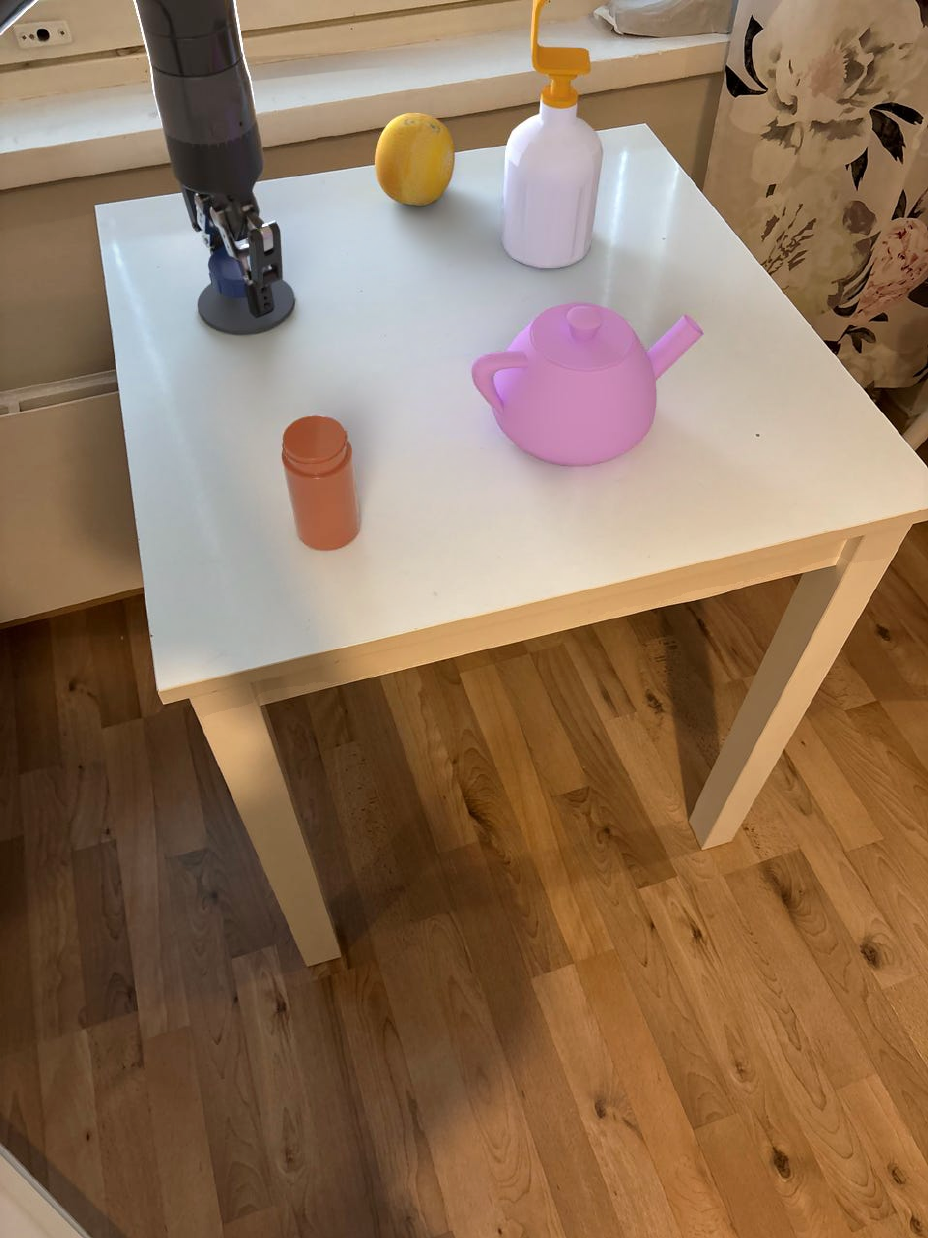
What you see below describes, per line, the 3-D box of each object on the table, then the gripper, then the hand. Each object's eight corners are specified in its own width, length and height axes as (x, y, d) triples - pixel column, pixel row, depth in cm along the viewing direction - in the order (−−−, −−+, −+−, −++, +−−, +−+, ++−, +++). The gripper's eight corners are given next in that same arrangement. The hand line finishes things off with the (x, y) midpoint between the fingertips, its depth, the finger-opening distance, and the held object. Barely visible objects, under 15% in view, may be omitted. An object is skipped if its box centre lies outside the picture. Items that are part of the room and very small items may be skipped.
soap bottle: (593, 271, 94) (633, -6, 73) (501, 269, 94) (516, -9, 73) (587, 219, 99) (624, -54, 79) (500, 217, 99) (514, -57, 79)
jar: (299, 555, 73) (281, 466, 65) (292, 507, 75) (274, 416, 68) (364, 545, 73) (354, 456, 65) (355, 498, 76) (344, 407, 68)
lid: (272, 258, 89) (269, 240, 88) (274, 295, 86) (271, 277, 85) (212, 263, 89) (207, 244, 87) (211, 300, 86) (207, 281, 84)
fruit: (453, 221, 98) (453, 145, 92) (375, 219, 98) (369, 143, 92) (455, 174, 103) (455, 99, 97) (381, 172, 103) (376, 97, 97)
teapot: (720, 445, 80) (753, 342, 71) (498, 500, 76) (504, 399, 67) (649, 343, 87) (672, 239, 79) (443, 389, 83) (443, 285, 75)
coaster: (198, 339, 87) (196, 334, 86) (199, 279, 92) (198, 274, 92) (296, 330, 88) (296, 326, 87) (292, 271, 93) (292, 267, 92)
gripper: (298, 138, 73) (321, 320, 87) (205, 65, 80) (240, 245, 94) (212, 170, 71) (251, 352, 85) (123, 92, 77) (172, 273, 91)
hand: (245, 295), depth 89 cm, fingers closed on lid, 5 cm apart
